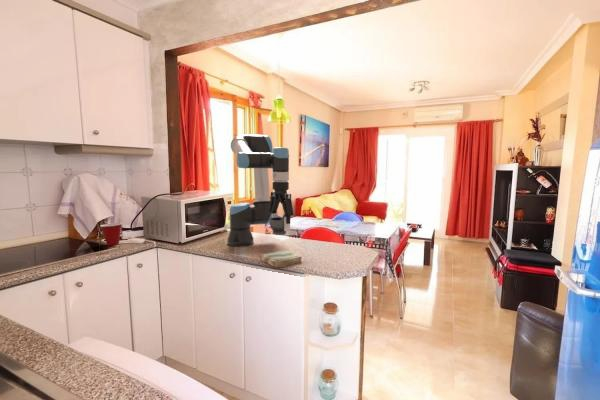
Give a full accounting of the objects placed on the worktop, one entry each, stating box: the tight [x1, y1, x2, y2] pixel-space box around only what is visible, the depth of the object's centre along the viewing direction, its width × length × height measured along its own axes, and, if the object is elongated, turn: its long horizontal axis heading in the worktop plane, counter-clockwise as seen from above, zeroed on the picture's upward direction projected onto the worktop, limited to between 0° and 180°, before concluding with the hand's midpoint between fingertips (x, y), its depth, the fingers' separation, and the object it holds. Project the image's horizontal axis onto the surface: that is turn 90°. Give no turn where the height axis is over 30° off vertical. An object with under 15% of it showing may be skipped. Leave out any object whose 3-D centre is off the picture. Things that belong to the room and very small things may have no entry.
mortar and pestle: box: [269, 212, 287, 236], centre depth 137 cm, size 11×9×12 cm
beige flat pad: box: [259, 249, 302, 269], centre depth 140 cm, size 14×14×3 cm
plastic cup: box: [99, 222, 123, 247], centre depth 166 cm, size 11×11×12 cm
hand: (280, 228), depth 138 cm, fingers closed on mortar and pestle, 10 cm apart
